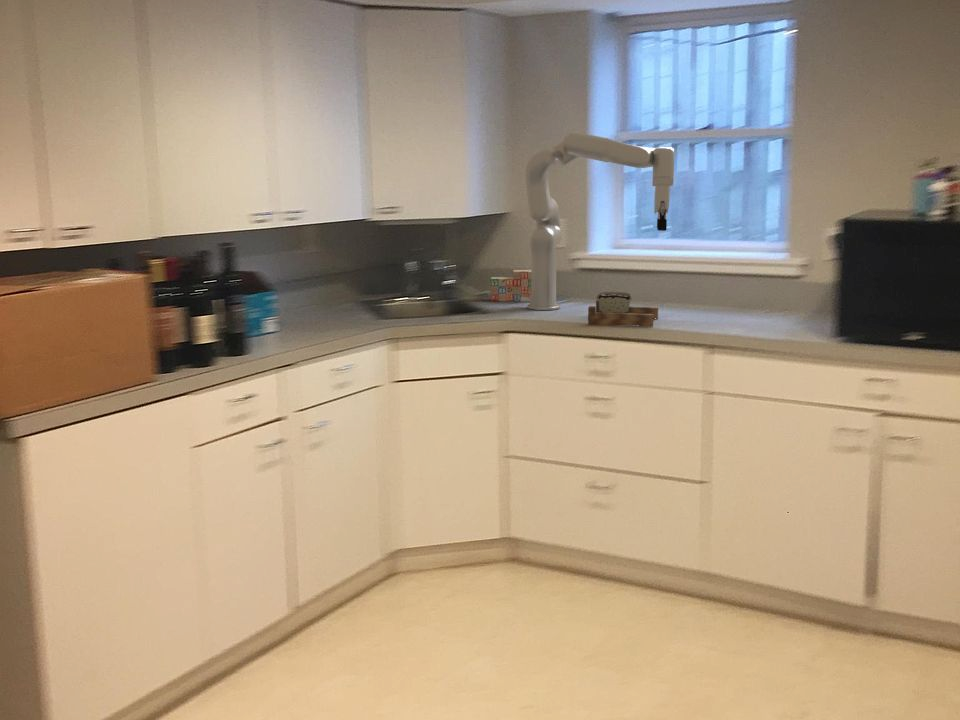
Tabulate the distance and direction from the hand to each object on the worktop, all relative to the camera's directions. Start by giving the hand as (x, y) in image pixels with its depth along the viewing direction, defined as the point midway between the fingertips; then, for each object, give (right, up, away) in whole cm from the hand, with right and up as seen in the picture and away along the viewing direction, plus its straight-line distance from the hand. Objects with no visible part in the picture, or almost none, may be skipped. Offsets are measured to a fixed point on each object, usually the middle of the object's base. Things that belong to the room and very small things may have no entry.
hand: (661, 229), depth 364 cm
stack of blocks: (-51, -24, +42) cm, 70 cm away
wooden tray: (-16, -34, -14) cm, 40 cm away
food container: (-19, -34, -13) cm, 41 cm away
